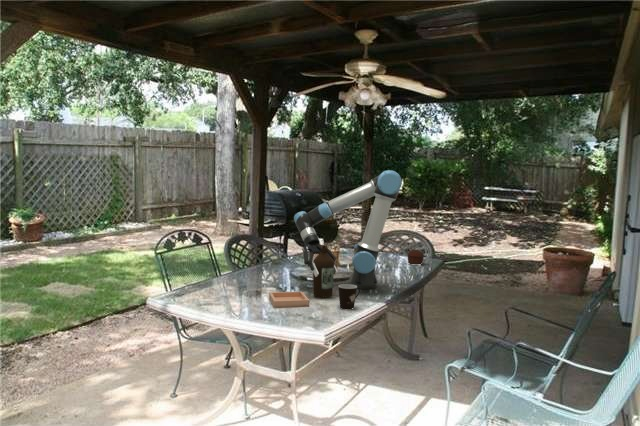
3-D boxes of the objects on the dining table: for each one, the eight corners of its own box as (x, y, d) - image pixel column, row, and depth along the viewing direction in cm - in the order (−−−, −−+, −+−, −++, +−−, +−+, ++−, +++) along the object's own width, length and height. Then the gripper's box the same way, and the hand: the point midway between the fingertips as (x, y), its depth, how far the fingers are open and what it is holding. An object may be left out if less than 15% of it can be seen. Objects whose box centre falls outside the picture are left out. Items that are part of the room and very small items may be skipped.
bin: (302, 297, 246) (302, 291, 245) (309, 306, 230) (309, 300, 230) (269, 298, 242) (269, 292, 242) (274, 307, 226) (274, 301, 226)
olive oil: (308, 294, 250) (309, 244, 247) (325, 291, 255) (326, 242, 253) (319, 299, 241) (321, 247, 238) (337, 296, 247) (339, 246, 244)
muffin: (403, 263, 345) (404, 248, 344) (416, 262, 349) (417, 248, 348) (413, 266, 334) (414, 251, 333) (427, 265, 339) (427, 251, 338)
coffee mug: (340, 310, 225) (341, 288, 224) (335, 305, 233) (335, 284, 232) (365, 309, 228) (366, 288, 227) (358, 304, 236) (359, 283, 235)
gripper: (325, 241, 265) (342, 276, 253) (287, 244, 252) (303, 280, 241) (331, 232, 260) (349, 267, 249) (293, 234, 247) (309, 272, 236)
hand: (326, 274), depth 245 cm, fingers closed on olive oil, 10 cm apart
